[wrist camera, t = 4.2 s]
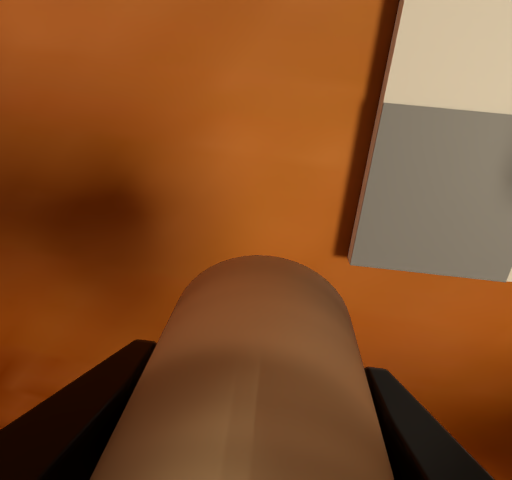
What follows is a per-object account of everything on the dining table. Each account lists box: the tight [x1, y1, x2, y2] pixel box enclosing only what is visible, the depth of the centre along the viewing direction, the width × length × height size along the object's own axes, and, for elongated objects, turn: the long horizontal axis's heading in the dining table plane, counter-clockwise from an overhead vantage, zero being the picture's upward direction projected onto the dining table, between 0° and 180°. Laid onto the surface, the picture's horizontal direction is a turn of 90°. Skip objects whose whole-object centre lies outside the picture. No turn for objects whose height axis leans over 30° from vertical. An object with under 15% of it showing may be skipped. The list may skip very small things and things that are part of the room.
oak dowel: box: [90, 255, 394, 480], centre depth 6 cm, size 4×4×6 cm
